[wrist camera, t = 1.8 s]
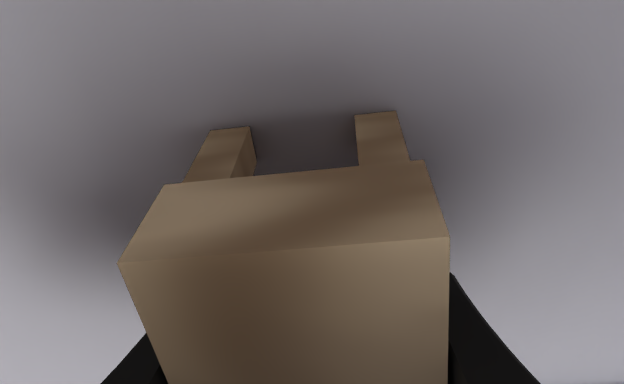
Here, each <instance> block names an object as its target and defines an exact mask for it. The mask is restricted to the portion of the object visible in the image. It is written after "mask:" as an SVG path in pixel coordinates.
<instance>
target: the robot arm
mask: <svg viewBox="0 0 624 384" xmlns="http://www.w3.org/2000/svg"><path fill="white" fill-rule="evenodd" d="M101 384H168V382H167V379H166V377H165V375H164V372H163V370H162V368H161V365H160V363H159V361H158V358H157V356H156V354H155V351H154V349H153V347H152V344H151V342H150V340H149V337H148V335H147V333H146V334H145V335H144V336H143V337H142V338H141V340H140V341H139V342H138V343H137V344H136V345H135V346H134V348H133V349H132V350H131V351H130V352H129V353H128V354H127V356H126V357H125V358H124V359H123V360H122V361H121V363H120V364H119V365H118V366H117V367H116V368H115V369H114V370H113V371H112V372H111V373H110V374H109V375H108V376H107V378H106V379H105V380H104V381H103V382H102V383H101ZM448 384H540V383H539V382H538V380H537V379H536V378H535V377H534V376H533V375H532V374H531V373H530V372H529V371H528V370H527V369H526V368H525V366H524V365H523V364H522V363H521V362H520V361H519V360H518V359H517V358H516V357H515V355H514V354H513V353H512V352H511V351H510V350H509V349H508V347H507V346H506V345H505V344H504V343H503V341H502V340H501V339H500V338H499V336H498V335H497V334H496V333H495V332H494V330H493V329H492V328H491V327H490V326H489V324H488V323H487V322H486V320H485V319H484V318H483V317H482V315H481V314H480V313H479V311H478V310H477V309H476V307H475V306H474V305H473V303H472V302H471V300H470V299H469V298H468V296H467V295H466V293H465V292H464V290H463V289H462V287H461V286H460V284H459V283H458V281H457V279H456V278H455V276H454V275H452V274H451V273H450V272H449V326H448Z"/></svg>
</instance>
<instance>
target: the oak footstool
mask: <svg viewBox="0 0 624 384" xmlns="http://www.w3.org/2000/svg"><path fill="white" fill-rule="evenodd" d="M354 118H355V129H356V140H357V151H358V163H359V166H352V167H342V168H331V169H321V170H311V171H300V172H290V173H279V174H269V175H259V176H253V174H254V170H255V167H256V164H257V160H256V155H255V150H254V146H253V141H252V136H251V131H250V127H249V126H248V127H239V128H229V129H220V130H210V132H209V134H208V136H207V138H206V139H205V141H204V143H203V145H202V147H201V149H200V150H199V152H198V154H197V156H196V158H195V160H194V162H193V163H192V165H191V167H190V169H189V171H188V173H187V174H186V176H185V178H184V180H183V182H182V183H175V184H165V185H164V186H163V187H162V189H161V191H160V192H159V194H158V196H157V197H156V199H155V201H154V202H153V204H152V206H151V207H150V209H149V211H148V212H147V214H146V216H145V217H144V219H143V221H142V222H141V224H140V226H139V227H138V229H137V231H136V232H135V234H134V236H133V237H132V239H131V241H130V242H129V244H128V245H127V247H126V249H125V250H124V252H123V254H122V255H121V257H120V259H119V260H118V262H117V265H118V267H119V270H120V272H121V274H122V277H123V279H124V281H125V284H126V286H127V288H128V291H129V293H130V295H131V298H132V300H133V302H134V305H135V307H136V309H137V312H138V314H139V316H140V319H141V321H142V323H143V326H144V328H145V330H146V333H147V335H148V337H149V340H150V342H151V344H152V347H153V349H154V351H155V354H156V356H157V358H158V361H159V363H160V365H161V368H162V370H163V372H164V375H165V377H166V379H167V382H168V384H448V326H449V268H450V235H449V232H448V229H447V226H446V223H445V220H444V218H443V215H442V212H441V209H440V206H439V203H438V200H437V197H436V194H435V191H434V188H433V185H432V182H431V179H430V177H429V174H428V171H427V168H426V165H425V162H424V160H415V161H410V158H409V154H408V151H407V147H406V144H405V141H404V137H403V134H402V130H401V127H400V123H399V120H398V116H397V113H396V111H388V112H379V113H369V114H360V115H354Z"/></svg>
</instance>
